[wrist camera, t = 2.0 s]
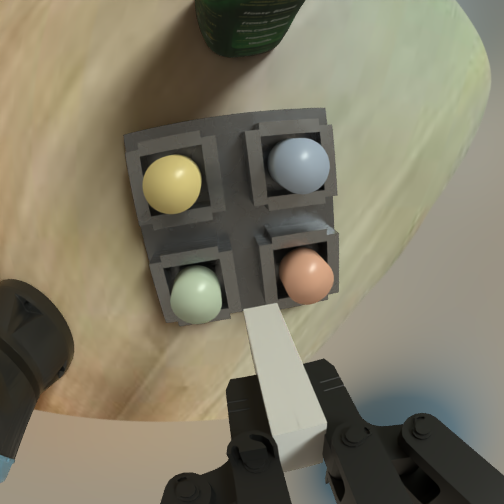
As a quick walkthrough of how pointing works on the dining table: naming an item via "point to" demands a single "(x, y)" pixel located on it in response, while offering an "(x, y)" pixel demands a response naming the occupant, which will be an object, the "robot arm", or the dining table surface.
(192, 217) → the button panel
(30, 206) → the dining table surface
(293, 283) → the terracotta button
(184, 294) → the sage button
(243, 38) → the coffee jar
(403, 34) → the dining table surface
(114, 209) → the dining table surface
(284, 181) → the slate button
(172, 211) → the mustard button
